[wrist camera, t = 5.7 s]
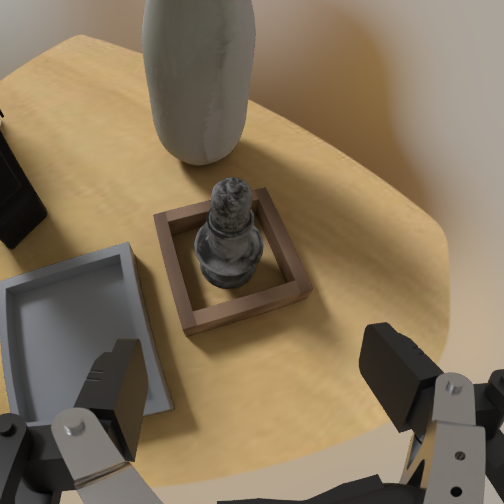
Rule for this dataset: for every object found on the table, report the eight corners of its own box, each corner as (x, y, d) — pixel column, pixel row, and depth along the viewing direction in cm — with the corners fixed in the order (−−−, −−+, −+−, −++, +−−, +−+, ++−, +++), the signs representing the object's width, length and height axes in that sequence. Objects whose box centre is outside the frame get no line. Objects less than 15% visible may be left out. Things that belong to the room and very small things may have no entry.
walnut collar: (185, 336, 26) (182, 329, 24) (157, 228, 31) (153, 214, 29) (306, 298, 29) (313, 288, 27) (262, 202, 34) (265, 187, 32)
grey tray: (29, 434, 20) (15, 434, 18) (10, 291, 26) (-2, 281, 24) (174, 409, 23) (170, 408, 21) (134, 254, 30) (128, 241, 28)
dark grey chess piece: (270, 254, 31) (294, 169, 21) (238, 303, 28) (249, 232, 18) (219, 226, 32) (220, 135, 22) (184, 270, 29) (167, 187, 19)
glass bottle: (258, 155, 37) (295, -82, 13) (185, 194, 34) (170, -87, 9) (212, 115, 41) (221, -86, 16) (145, 145, 37) (117, -77, 12)
